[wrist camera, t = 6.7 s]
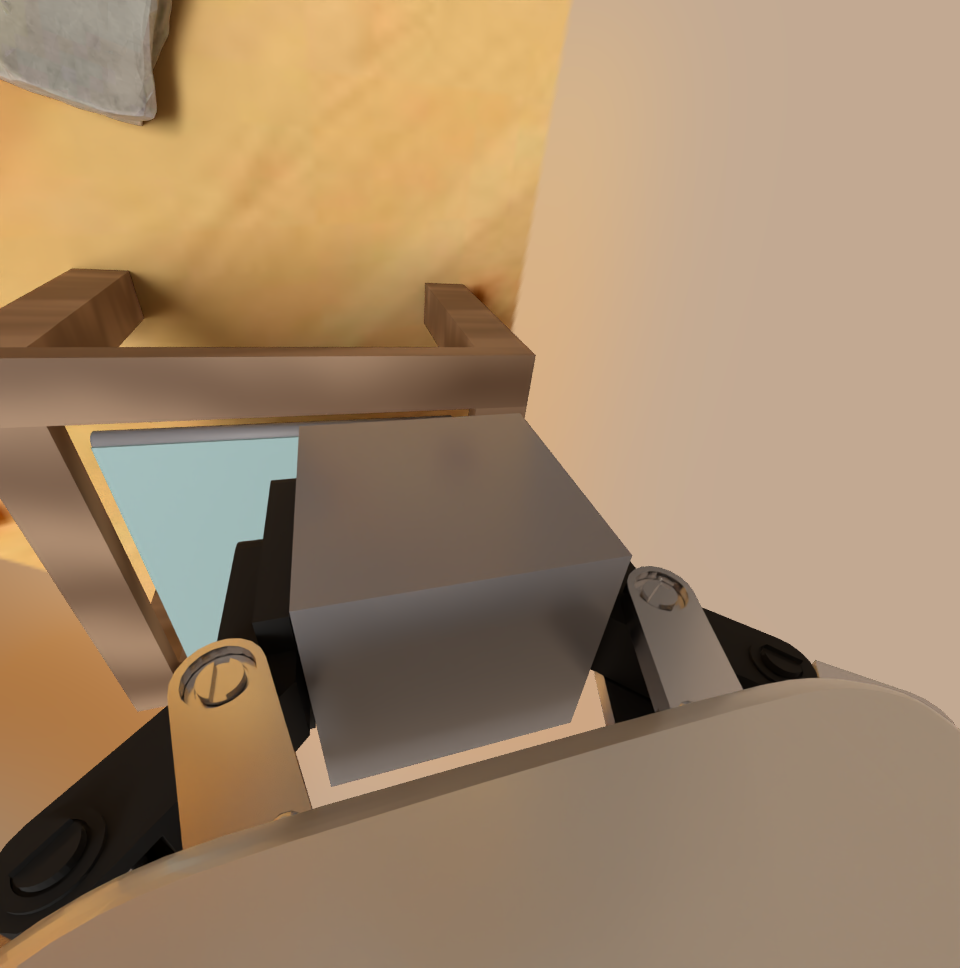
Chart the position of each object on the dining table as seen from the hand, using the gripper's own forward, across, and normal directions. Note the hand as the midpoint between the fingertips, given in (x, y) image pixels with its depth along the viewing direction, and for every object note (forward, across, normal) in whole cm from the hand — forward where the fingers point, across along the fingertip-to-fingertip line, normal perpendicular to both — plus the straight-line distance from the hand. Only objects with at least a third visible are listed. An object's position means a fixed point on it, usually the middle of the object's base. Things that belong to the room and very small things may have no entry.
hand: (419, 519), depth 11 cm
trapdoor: (+11, +4, +9) cm, 15 cm away
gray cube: (+1, 0, 0) cm, 1 cm away
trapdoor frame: (+22, +4, +9) cm, 24 cm away
